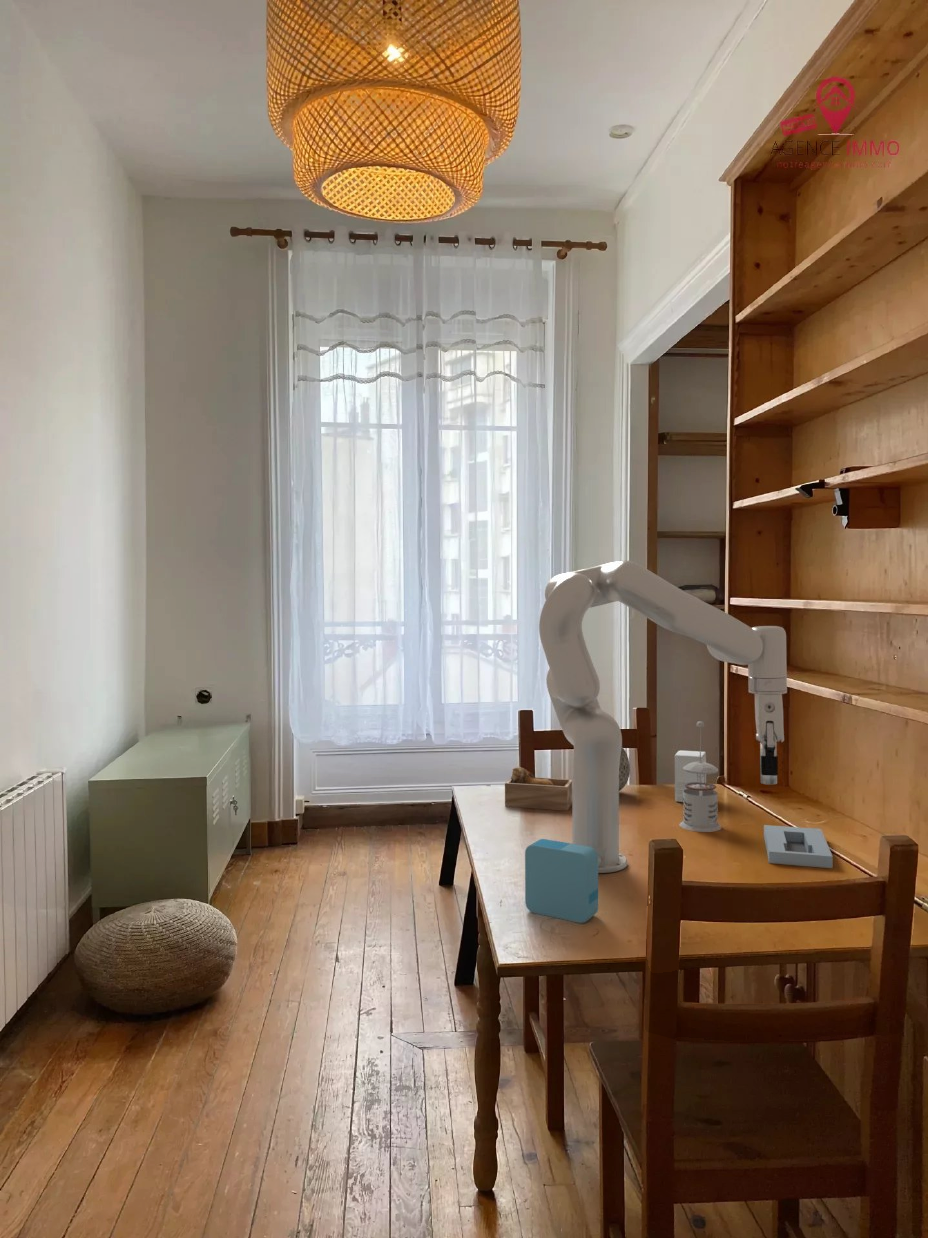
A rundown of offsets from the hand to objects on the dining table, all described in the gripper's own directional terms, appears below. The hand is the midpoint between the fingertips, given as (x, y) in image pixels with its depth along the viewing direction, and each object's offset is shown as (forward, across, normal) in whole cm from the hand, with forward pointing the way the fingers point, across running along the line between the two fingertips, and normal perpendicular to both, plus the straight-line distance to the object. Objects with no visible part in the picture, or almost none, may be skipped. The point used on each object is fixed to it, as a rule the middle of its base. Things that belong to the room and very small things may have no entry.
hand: (768, 772), depth 173 cm
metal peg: (+2, 0, 0) cm, 2 cm away
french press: (+18, +21, +14) cm, 31 cm away
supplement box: (+18, +45, +17) cm, 51 cm away
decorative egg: (+18, +46, +39) cm, 63 cm away
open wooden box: (+17, +30, +55) cm, 65 cm away
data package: (+17, -42, +37) cm, 58 cm away
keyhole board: (+18, +6, -6) cm, 20 cm away
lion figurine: (+17, +30, +56) cm, 66 cm away
